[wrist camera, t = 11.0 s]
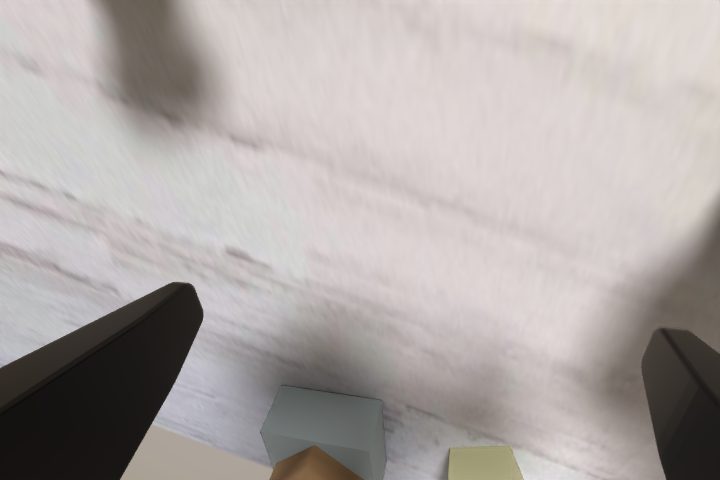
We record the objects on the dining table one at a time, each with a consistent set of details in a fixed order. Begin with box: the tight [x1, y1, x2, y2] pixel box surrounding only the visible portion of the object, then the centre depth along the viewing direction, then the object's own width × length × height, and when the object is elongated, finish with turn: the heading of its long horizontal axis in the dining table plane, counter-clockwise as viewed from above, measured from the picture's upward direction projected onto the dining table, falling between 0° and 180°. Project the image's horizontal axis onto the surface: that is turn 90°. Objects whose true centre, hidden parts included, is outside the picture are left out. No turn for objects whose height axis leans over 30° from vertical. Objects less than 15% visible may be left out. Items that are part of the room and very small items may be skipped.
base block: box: [260, 385, 387, 480], centre depth 33 cm, size 8×8×4 cm
